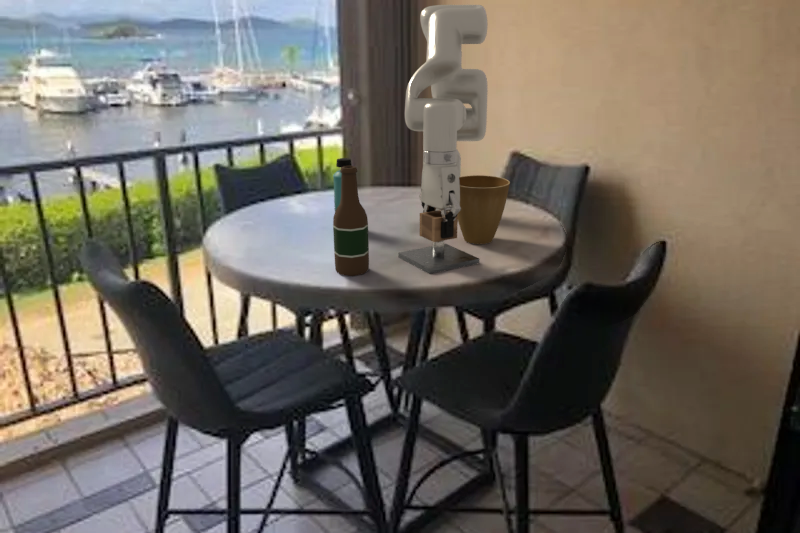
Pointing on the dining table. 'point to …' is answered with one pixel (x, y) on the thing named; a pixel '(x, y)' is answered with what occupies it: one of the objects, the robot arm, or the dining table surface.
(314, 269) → the dining table surface
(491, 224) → the plant pot
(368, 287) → the dining table surface
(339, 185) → the beverage bottle
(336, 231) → the beer bottle
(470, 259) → the post block
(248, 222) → the dining table surface
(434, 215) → the walnut collar
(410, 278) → the dining table surface
